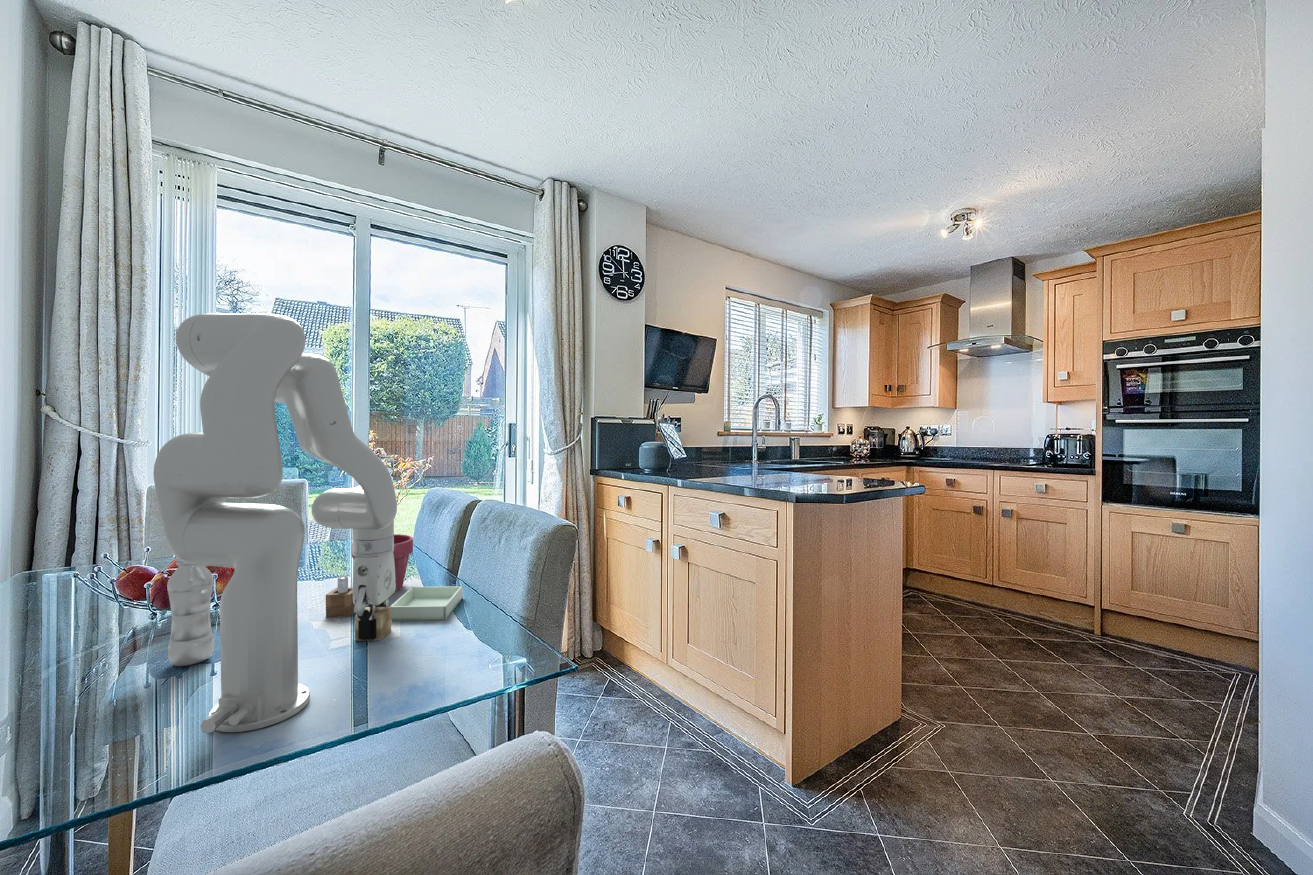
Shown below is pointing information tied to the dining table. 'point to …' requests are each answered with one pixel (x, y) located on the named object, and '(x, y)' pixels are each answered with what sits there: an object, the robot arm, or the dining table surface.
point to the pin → (343, 585)
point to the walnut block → (339, 603)
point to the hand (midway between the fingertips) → (373, 632)
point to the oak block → (378, 622)
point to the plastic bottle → (190, 614)
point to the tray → (426, 603)
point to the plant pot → (401, 557)
